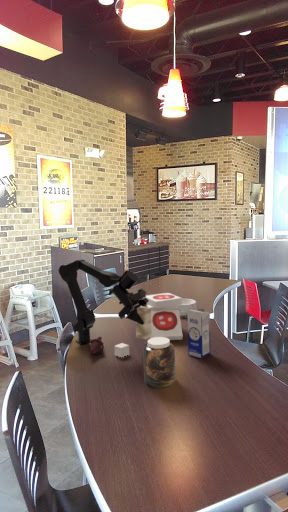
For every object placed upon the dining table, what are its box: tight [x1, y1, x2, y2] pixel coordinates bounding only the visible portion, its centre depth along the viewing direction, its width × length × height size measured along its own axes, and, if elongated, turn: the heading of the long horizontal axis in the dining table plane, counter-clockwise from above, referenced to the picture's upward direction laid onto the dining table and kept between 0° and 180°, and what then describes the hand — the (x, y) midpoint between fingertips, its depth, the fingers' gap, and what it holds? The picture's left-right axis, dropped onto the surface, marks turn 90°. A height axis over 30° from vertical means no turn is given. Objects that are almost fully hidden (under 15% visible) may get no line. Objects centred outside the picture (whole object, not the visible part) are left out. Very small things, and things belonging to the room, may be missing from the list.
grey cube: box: [114, 342, 130, 359], centre depth 161 cm, size 4×4×4 cm
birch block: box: [135, 306, 152, 340], centre depth 163 cm, size 5×5×13 cm
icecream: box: [87, 336, 105, 355], centre depth 164 cm, size 7×7×15 cm
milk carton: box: [186, 308, 211, 359], centre depth 158 cm, size 7×7×20 cm
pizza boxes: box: [143, 292, 184, 341], centre depth 186 cm, size 19×30×18 cm, turn 3°
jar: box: [142, 337, 177, 389], centre depth 135 cm, size 12×12×15 cm
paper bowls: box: [178, 298, 197, 317], centre depth 223 cm, size 15×15×8 cm
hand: (146, 322), depth 163 cm, fingers closed on birch block, 5 cm apart
